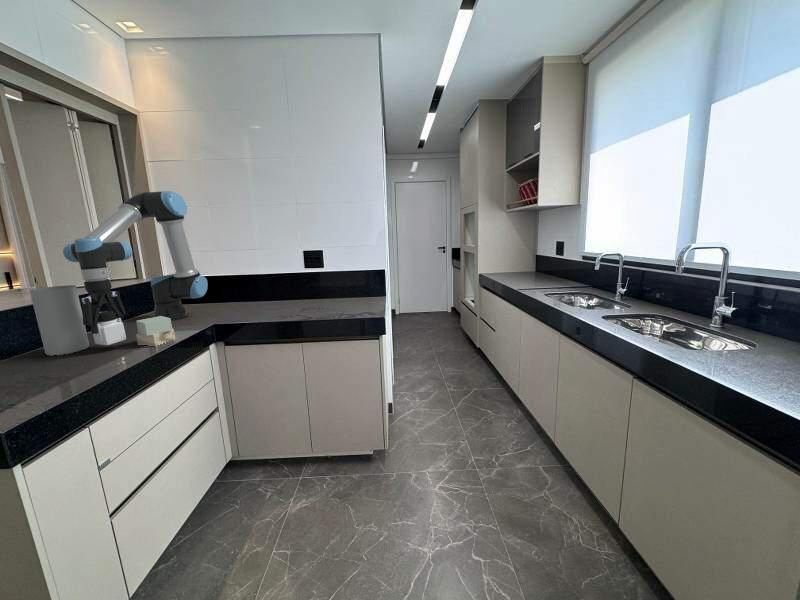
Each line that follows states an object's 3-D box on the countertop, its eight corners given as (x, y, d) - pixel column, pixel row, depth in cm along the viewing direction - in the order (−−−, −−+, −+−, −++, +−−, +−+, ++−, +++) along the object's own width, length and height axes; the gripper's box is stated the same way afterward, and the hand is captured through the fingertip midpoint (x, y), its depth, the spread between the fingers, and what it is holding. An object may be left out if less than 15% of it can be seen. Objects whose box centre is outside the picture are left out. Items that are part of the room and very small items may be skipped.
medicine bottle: (127, 339, 136) (120, 310, 133) (107, 345, 129) (100, 314, 127) (115, 338, 138) (108, 309, 136) (94, 344, 132) (87, 314, 129)
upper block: (163, 327, 146) (161, 315, 145) (172, 330, 141) (170, 318, 140) (138, 332, 139) (135, 320, 138) (147, 335, 133) (144, 323, 132)
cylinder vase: (95, 348, 136) (81, 286, 132) (52, 358, 126) (35, 291, 121) (82, 344, 143) (69, 284, 138) (41, 353, 132) (24, 289, 127)
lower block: (159, 339, 146) (157, 328, 145) (175, 340, 144) (173, 328, 143) (138, 346, 138) (136, 334, 137) (155, 347, 135) (153, 335, 134)
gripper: (77, 284, 118) (93, 346, 123) (129, 275, 138) (141, 329, 143) (58, 284, 119) (74, 346, 123) (113, 275, 139) (124, 329, 144)
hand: (110, 337), depth 133 cm, fingers closed on medicine bottle, 8 cm apart
